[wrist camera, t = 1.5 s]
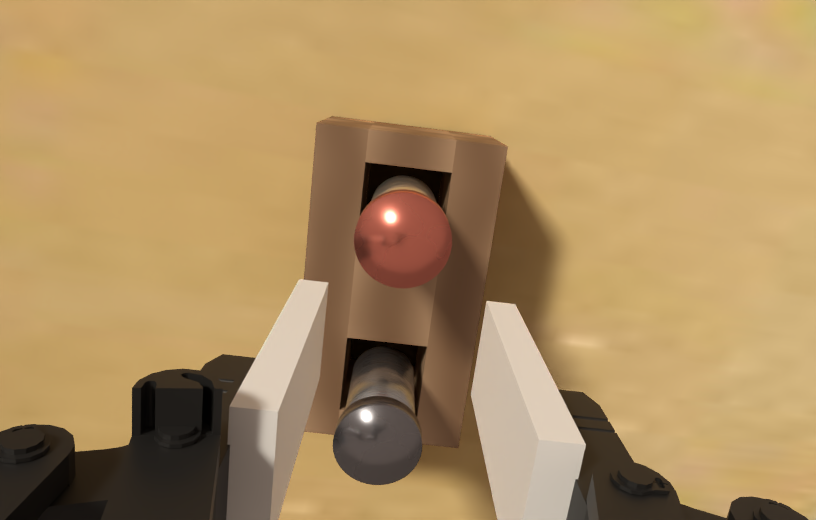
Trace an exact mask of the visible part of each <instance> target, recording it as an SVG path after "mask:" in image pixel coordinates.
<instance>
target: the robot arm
mask: <svg viewBox="0 0 816 520" xmlns="http://www.w3.org/2000/svg"><path fill="white" fill-rule="evenodd" d="M327 294H328V282H320V281H311V280H302V279H299V280H298V282H297V284H296V286H295V288H294V290H293V291H292V293H291V295H290V297H289V299H288V300H287V302H286V304H285V306H284V308H283V310H282V311H281V313H280V315H279V317H278V319H277V321H276V322H275V324H274V326H273V328H272V330H271V331H270V333H269V335H268V337H267V339H266V341H265V342H264V344H263V346H262V348H261V350H260V351H259V353H258V355H257V357H256V358H251V357H242V356H233V355H224V354H223V355H221V356H219V357H217V358H215V359H213V360H212V361H210V362H208V363H206V364H205V365H204V366H203V368H202V369H201V371H199V370H190V369H175V370H165V371H161V372H157V373H153V374H150V375H148V376H146V377H144V378H142V379H140V380H139V381H138V382H137V383H136V384H135V385H134V386H133V388H132V437H131V440H130V443H129V445H126V446H123V447H118V448H111V449H104V450H92V451H80V452H75V444H74V438H73V435H72V434H71V433H69V432H68V431H67V430H65V429H64V428H60V427H56V426H52V425H36V424H30V425H25V426H22V425H21V426H17V427H12V428H10V429H7V430H4V431H1V432H0V520H278V519H279V515H280V512H281V508H282V505H283V501H284V498H285V495H286V491H287V488H288V484H289V481H290V478H291V474H292V471H293V467H294V464H295V461H296V457H297V454H298V450H299V447H300V444H301V440H302V437H303V433H304V430H305V426H306V423H307V420H308V416H309V413H310V409H311V406H312V403H313V399H314V396H315V392H316V389H317V386H318V382H319V379H320V369H321V359H322V348H323V337H324V326H325V316H326V305H327ZM471 398H472V403H473V407H474V412H475V417H476V421H477V426H478V431H479V436H480V440H481V445H482V450H483V454H484V459H485V464H486V469H487V473H488V478H489V483H490V488H491V492H492V497H493V502H494V506H495V511H496V516H497V520H808V519H807V518H806V517H805V516H803V515H801V514H799V513H798V512H796V511H794V510H792V509H791V508H790V507H788V506H786V505H784V504H782V503H777V502H776V501H773V500H770V499H762V498H757V497H739V498H738V499H736V500H734V501H733V502H732V503H731V506H730V509H729V512H728V516H727V518H724V517H720V516H717V515H714V514H710V513H707V512H704V511H700V510H697V509H694V508H691V507H688V506H685V505H683V504H680V501H679V499H678V496H677V493H676V491H675V490H674V488H673V486H672V485H671V483H670V482H669V481H667V480H666V479H665V478H664V477H663V476H661V475H660V474H659V473H657V472H655V471H653V470H652V469H650V468H648V467H646V466H644V465H641V464H638V463H634V461H633V460H632V458H631V456H630V455H629V453H628V452H627V450H626V448H625V447H624V445H623V443H622V442H621V440H620V438H619V437H618V435H617V433H615V430H614V428H613V427H612V425H611V424H610V422H608V419H607V417H606V415H605V414H604V412H603V410H602V409H601V407H600V405H598V404H597V403H596V402H594V401H593V400H592V399H591V398H589V397H588V396H587V395H586V394H584V393H583V392H574V391H565V390H558V388H557V386H556V384H555V382H554V380H553V378H552V376H551V374H550V372H549V370H548V368H547V366H546V364H545V362H544V360H543V358H542V356H541V354H540V352H539V350H538V348H537V346H536V344H535V342H534V340H533V338H532V337H531V335H530V333H529V331H528V329H527V327H526V325H525V323H524V321H523V319H522V317H521V315H520V313H519V311H518V309H517V307H516V305H515V304H510V303H501V302H492V301H486V307H485V313H484V319H483V325H482V331H481V337H480V343H479V349H478V355H477V361H476V367H475V373H474V379H473V385H472V391H471Z"/></svg>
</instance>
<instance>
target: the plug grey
mask: <svg viewBox="0 0 816 520" xmlns="http://www.w3.org/2000/svg"><path fill="white" fill-rule="evenodd" d="M333 452H334V455H335V458H336V461H337V463H338V464H339V466H340V467H341V468H342V470H343V471H344V472H345V473H346V474H348V475H349V476H350V477H352V478H354V479H355V480H358V481H360V482H363V483H366V484H372V485H384V484H390V483H393V482H396V481H398V480H400V479H402V478H404V477H405V476H407V475H408V474H409V473H410V472H411V471H412V470H413V469H414V468H415V466H416V465H417V463H418V461H419V459H420V456H421V452H422V433H421V426H420V423H419V420H418V418H417V417H416V415H415V403H414V372H413V367H412V364H411V362H410V360H409V359H408V358H407V357H406V356H405V355H404V354H403V353H402V352H400V351H399V350H397V349H394V348H391V347H384V346H381V347H374V348H371V349H369V350H367V351H365V352H364V353H363V354H361V355H360V356H359V357H358V359H357V360H356V362H355V364H354V367H353V372H352V377H351V382H350V388H349V393H348V399H347V404H346V409H345V410H344V411H343V413H342V414H341V415H340V417H339V419H338V422H337V425H336V429H335V434H334V439H333Z"/></svg>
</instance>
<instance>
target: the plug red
mask: <svg viewBox="0 0 816 520" xmlns="http://www.w3.org/2000/svg"><path fill="white" fill-rule="evenodd" d="M354 248H355V253H356V256H357V258H358V261H359V263H360V265H361V266H362V268H363V269H364V270H365V271H366V273H367V274H368V275H369V276H371V277H372V278H373V279H374V280H376V281H378V282H379V283H381V284H384V285H386V286H389V287H394V288H412V287H417V286H420V285H423V284H425V283H427V282H429V281H430V280H432V279H433V278H434V277H435V276H437V275H438V274H439V273H440V272H441V270H442V269H443V268H444V266H445V265H446V263H447V261H448V259H449V256H450V253H451V248H452V234H451V229H450V225H449V222H448V219H447V217H446V215H445V213H444V211H443V210H442V208H441V207H440V206H439V205H438V204H437V203H436V200H435V197H434V194H433V192H432V191H431V189H430V188H429V187H428V185H427V184H425V183H424V182H423V181H421V180H420V179H418V178H415V177H412V176H407V175H400V176H395V177H392V178H389V179H387V180H386V181H384V182H383V183H382V184H381V185H379V187H378V188H377V189H376V191H375V192H374V194H373V197H372V200H371V202H370V203H369V204H368V205H367V206H366V207H365V209H364V210H363V212H362V213H361V215H360V217H359V220H358V223H357V226H356V229H355V234H354Z"/></svg>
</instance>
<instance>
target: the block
mask: <svg viewBox="0 0 816 520" xmlns="http://www.w3.org/2000/svg"><path fill="white" fill-rule="evenodd" d="M507 149H508V147H507V146H506V145H504V144H502V143H501V142H499V141H497V140H496V139H494V138H492V137H491V136H485V135H477V134H469V133H461V132H453V131H445V130H437V129H429V128H421V127H413V126H405V125H397V124H389V123H381V122H373V121H365V120H357V119H349V118H341V117H333V116H332V117H329V118H327V119H325V120H322V121H320V122H317V125H316V137H315V149H314V162H313V174H312V186H311V198H310V211H309V223H308V235H307V248H306V260H305V272H304V280H311V281H320V282H328V294H327V305H326V316H325V326H324V337H323V348H322V359H321V369H320V379H319V382H318V386H317V389H316V392H315V396H314V399H313V403H312V406H311V409H310V413H309V416H308V420H307V423H306V426H305V430H304V432H313V433H322V434H332V435H334V434H335V429H336V425H337V422H338V419H339V417H340V415H341V414H342V413H343V411H344V410H345V409H346V404H347V399H348V393H349V388H350V382H351V377H352V372H353V367H354V364H355V362H356V360H354V359H350V353H351V344H352V338H355V339H364V340H373V341H382V342H391V343H399V344H408V345H417V346H418V350H417V358H416V365H415V366H412V367H413V372H414V403H415V415H416V417H417V418H418V420H419V423H420V426H421V433H422V444H426V445H435V446H444V447H454V448H458V446H459V440H460V434H461V428H462V422H463V416H464V409H465V403H466V397H467V391H468V385H469V379H470V373H471V367H472V361H473V355H474V349H475V343H476V337H477V331H478V325H479V318H480V312H481V306H482V300H483V294H484V288H485V282H486V276H487V270H488V264H489V258H490V252H491V246H492V240H493V234H494V228H495V221H496V215H497V209H498V203H499V197H500V191H501V185H502V179H503V173H504V167H505V161H506V155H507ZM371 163H377V164H385V165H393V166H401V167H409V168H418V169H426V170H434V171H442V176H441V184H440V191H439V198H438V205H439V206H440V207H441V208H442V210H443V211H444V213H445V215H446V217H447V219H448V222H449V225H450V229H451V234H452V248H451V253H450V256H449V259H448V261H447V263H446V265H445V266H444V268H443V269H442V270H441V272H440V273H439V274H438V275H437V276H435V277H434V278H433V279H432V280H430V281H429V282H427V283H425V284H423V285H420V286H417V287H412V288H394V287H389V286H386V285H384V284H381V283H379V282H378V281H376V280H374V279H373V278H372V277H371V276H369V275H368V274H367V273H366V271H365V270H364V269H363V268H362V266H361V265H360V263H359V261H358V258H357V256H356V253H355V248H354V234H355V229H356V226H357V223H358V220H359V217H360V215H361V213H362V212H363V210H364V209H365V207H366V203H367V193H368V184H369V174H370V165H371Z"/></svg>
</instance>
